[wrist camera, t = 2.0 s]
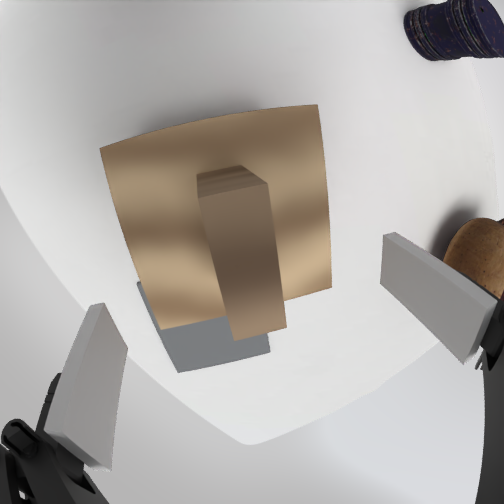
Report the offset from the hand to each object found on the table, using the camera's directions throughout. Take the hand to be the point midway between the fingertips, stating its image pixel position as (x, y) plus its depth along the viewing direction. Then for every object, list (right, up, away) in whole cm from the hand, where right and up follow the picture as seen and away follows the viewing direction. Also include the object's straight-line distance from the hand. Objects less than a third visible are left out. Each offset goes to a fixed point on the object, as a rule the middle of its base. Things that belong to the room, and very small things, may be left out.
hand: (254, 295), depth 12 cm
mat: (-6, -8, +28) cm, 30 cm away
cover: (-5, +10, +20) cm, 23 cm away
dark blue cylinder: (+28, +37, +15) cm, 49 cm away
